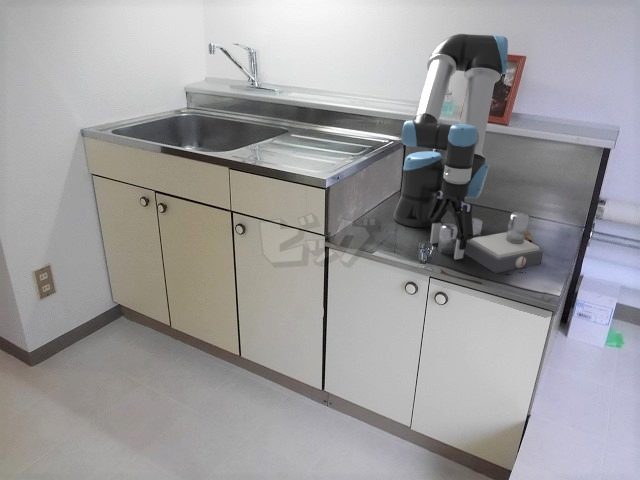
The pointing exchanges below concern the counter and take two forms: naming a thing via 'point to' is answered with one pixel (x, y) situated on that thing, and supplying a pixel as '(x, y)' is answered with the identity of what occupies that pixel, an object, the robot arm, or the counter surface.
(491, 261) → the scale
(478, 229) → the cylinder
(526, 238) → the filled bread boat
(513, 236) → the cylinder
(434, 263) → the counter surface
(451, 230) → the cylinder
